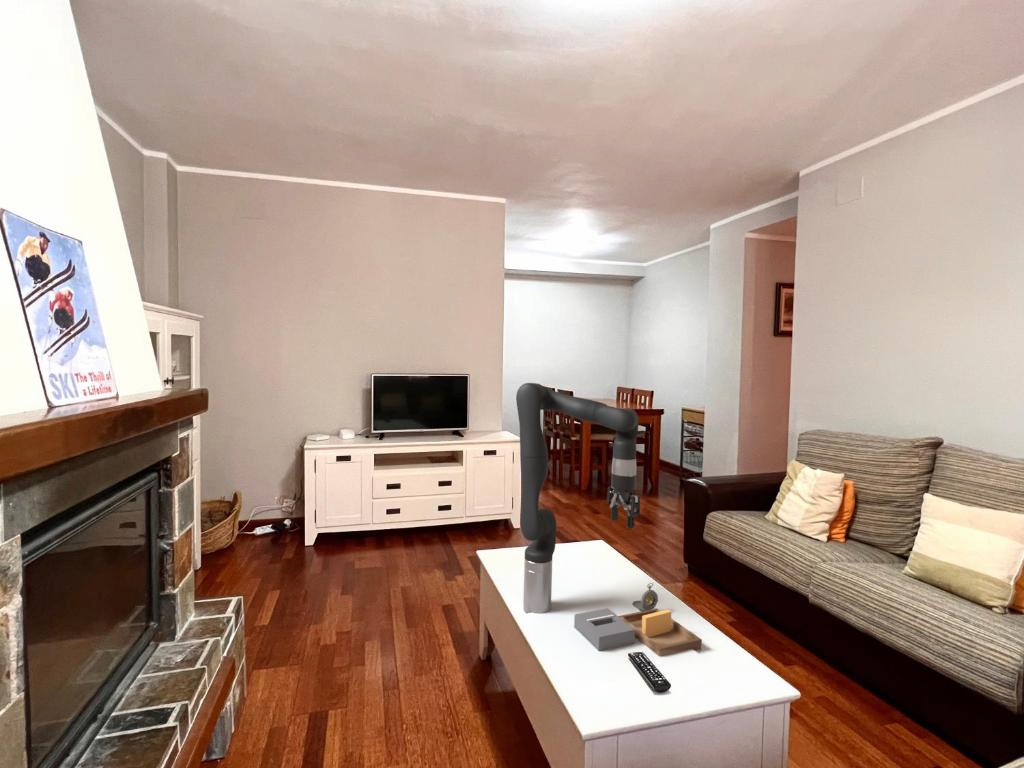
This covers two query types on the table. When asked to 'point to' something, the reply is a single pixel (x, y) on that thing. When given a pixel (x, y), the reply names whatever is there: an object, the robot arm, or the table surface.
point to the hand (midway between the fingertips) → (622, 524)
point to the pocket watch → (647, 600)
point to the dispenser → (604, 629)
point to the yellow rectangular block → (656, 623)
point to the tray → (663, 635)
